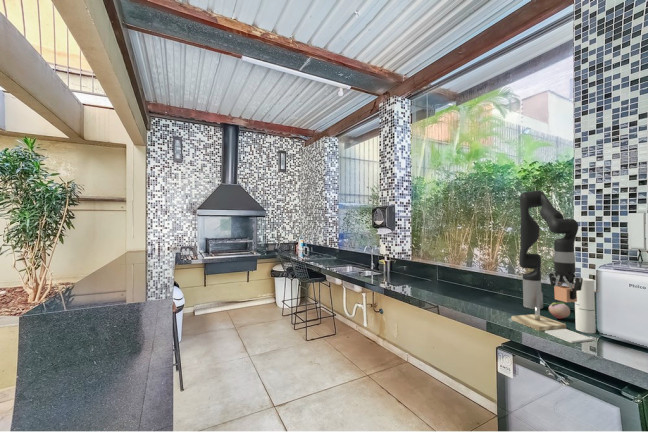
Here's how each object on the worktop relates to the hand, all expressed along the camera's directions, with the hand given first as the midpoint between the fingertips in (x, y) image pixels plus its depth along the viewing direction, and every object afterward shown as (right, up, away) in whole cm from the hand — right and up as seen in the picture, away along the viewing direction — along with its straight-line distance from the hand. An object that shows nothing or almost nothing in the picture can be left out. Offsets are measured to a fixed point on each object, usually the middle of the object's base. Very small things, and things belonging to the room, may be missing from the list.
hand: (565, 297), depth 130 cm
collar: (0, -1, 0) cm, 1 cm away
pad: (+1, -18, -1) cm, 18 cm away
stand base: (-1, -18, +15) cm, 24 cm away
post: (-1, -16, +15) cm, 22 cm away
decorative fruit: (+16, -18, +22) cm, 33 cm away
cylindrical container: (+15, -18, +6) cm, 24 cm away
